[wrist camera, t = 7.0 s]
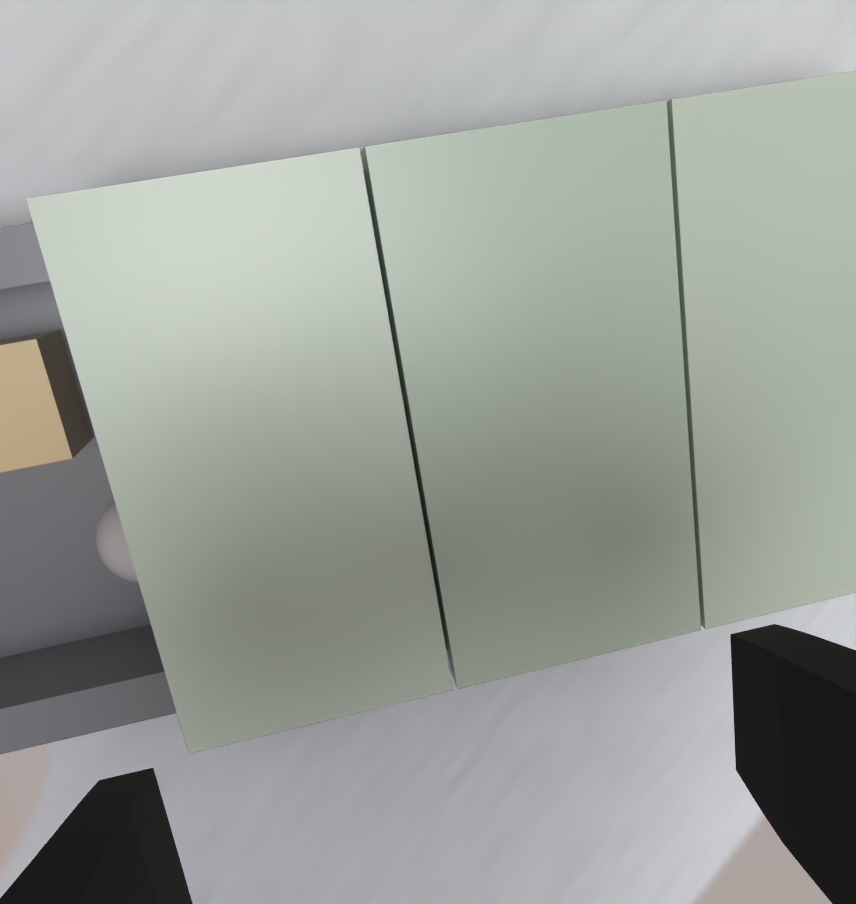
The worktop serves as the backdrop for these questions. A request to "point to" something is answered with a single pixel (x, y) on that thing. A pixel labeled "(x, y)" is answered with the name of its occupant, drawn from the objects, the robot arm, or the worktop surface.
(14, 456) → the tub
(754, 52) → the worktop surface
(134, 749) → the worktop surface
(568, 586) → the lid
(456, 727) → the worktop surface
